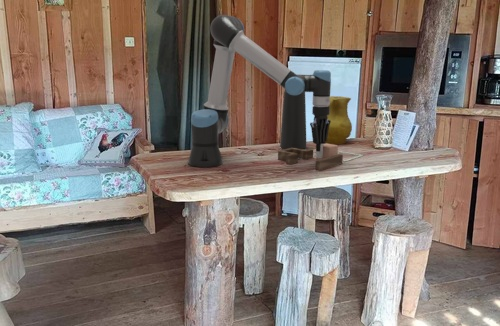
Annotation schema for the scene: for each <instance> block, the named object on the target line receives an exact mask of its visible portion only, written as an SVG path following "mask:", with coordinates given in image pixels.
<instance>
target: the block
mask: <svg viewBox="0 0 500 326" xmlns="http://www.w3.org/2000/svg"><path fill="white" fill-rule="evenodd" d="M338 151H339V144H328V143H326V144H323V158H321V159H324V158H327V157H331V156H334V155H338V153H339V152H338ZM321 159H320V158H316V157H315V161H317V160H321Z"/></svg>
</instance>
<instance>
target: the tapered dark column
mask: <svg viewBox="0 0 500 326" xmlns="http://www.w3.org/2000/svg"><path fill="white" fill-rule="evenodd" d="M282 100H283V101H282V102H283V103H282V114H281V115H282V116H281V128H280V142H279V143H280V144H279V148H280V147H281V148H282V149H281V148H280V149H281V150H284V149H288V148H297V149H302V150H307V118H306V117H307V115H306V114H307V113H306V112H307V111H306V110H307V109H306V108H307V107H306V92H302V93H301V94H299V95H290V94H289V93H287V91H286V90H284V92H283V99H282Z"/></svg>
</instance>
